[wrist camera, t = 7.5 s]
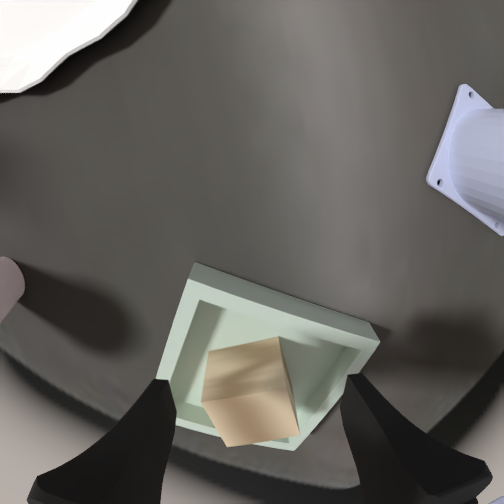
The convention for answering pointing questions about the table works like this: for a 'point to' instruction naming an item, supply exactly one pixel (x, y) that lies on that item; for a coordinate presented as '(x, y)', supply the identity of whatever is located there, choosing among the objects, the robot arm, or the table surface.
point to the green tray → (254, 329)
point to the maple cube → (250, 393)
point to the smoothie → (9, 285)
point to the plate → (50, 35)
